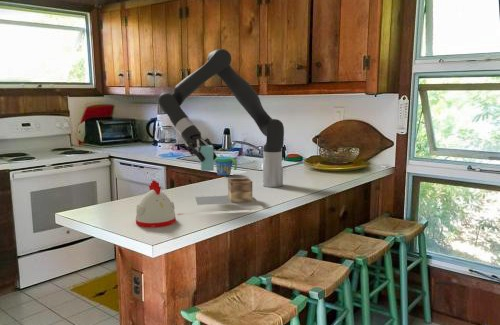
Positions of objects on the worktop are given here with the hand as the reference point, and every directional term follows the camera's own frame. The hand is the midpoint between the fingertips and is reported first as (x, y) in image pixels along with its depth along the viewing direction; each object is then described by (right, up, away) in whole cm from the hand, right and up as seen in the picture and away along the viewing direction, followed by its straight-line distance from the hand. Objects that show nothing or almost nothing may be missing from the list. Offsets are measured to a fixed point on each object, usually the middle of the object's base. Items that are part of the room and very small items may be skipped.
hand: (209, 159), depth 182 cm
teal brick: (-1, -4, +2) cm, 5 cm away
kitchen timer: (-17, -23, -27) cm, 39 cm away
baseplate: (+6, -18, +3) cm, 19 cm away
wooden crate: (+13, -18, +3) cm, 22 cm away
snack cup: (+2, -9, +67) cm, 67 cm away
